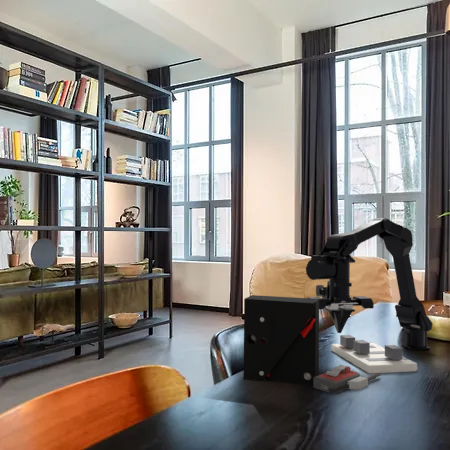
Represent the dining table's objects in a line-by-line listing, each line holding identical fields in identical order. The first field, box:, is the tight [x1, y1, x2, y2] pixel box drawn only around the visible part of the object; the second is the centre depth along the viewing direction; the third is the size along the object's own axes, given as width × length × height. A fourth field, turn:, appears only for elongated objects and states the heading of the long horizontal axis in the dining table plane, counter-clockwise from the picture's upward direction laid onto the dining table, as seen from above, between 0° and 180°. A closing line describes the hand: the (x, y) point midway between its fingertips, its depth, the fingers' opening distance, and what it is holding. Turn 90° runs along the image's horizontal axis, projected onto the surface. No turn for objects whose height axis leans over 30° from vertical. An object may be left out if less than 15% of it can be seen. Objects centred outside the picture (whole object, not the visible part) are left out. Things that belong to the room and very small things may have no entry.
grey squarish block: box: [384, 344, 403, 360], centre depth 127 cm, size 3×4×3 cm
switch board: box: [331, 342, 418, 374], centre depth 133 cm, size 14×24×2 cm, turn 10°
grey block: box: [353, 339, 371, 354], centre depth 133 cm, size 3×4×3 cm
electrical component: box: [243, 294, 320, 387], centre depth 115 cm, size 18×10×20 cm, turn 71°
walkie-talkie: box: [312, 364, 382, 394], centre depth 112 cm, size 9×4×20 cm
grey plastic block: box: [339, 334, 356, 348], centre depth 139 cm, size 3×4×3 cm
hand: (339, 332), depth 132 cm, fingers closed
